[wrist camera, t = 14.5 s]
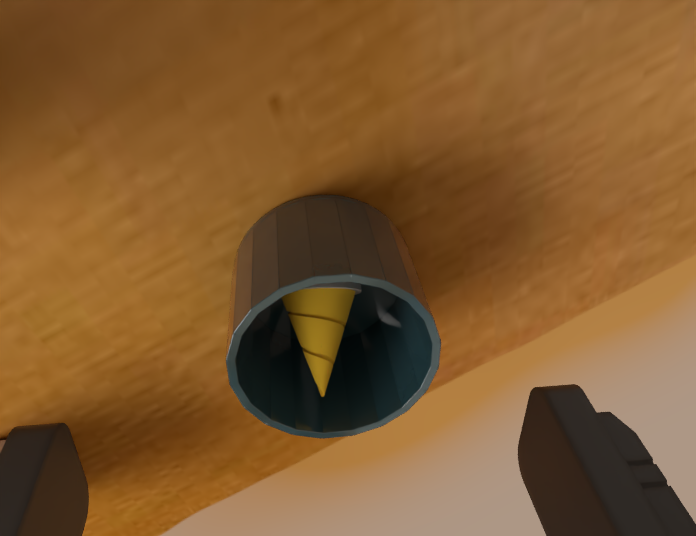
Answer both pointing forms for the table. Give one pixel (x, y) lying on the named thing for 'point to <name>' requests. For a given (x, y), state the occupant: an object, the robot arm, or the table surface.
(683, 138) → the table surface
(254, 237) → the pen pot
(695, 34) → the table surface
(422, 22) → the table surface
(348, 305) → the spiral grooved cone
